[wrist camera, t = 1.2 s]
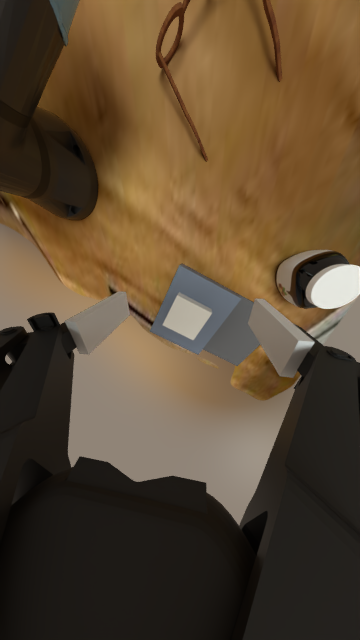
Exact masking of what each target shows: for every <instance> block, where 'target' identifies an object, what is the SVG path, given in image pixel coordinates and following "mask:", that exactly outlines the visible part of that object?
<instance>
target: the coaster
mask: <svg viewBox="0 0 360 640" xmlns="http://www.w3.org/2000/svg"><path fill="white" fill-rule="evenodd" d="M211 314H212V309H210V308H208V307H207V306H205V305H203V304H201V303H199V302H197V301H195V300H193V299H191V298H189V297H187V296H186V295H184V294H182V293H180V292H179V293H178V295H177V297H176V299H175V301H174V303H173V305H172V307H171V309H170V311H169V313H168V315H167V317H166V319H165V321H164V323H163V326H165V327H167V328H169V329H171V330H173V331H175V332H177V333H179V334H181V335H183V336H185V337H187V338H189V339H191V340H194V339H195V337H196V336H197V334H198V333H199V332H200V330H201V329H202V327H203V326H204V324H205V323H206V321H207V320H208V319H209V317H210V316H211Z"/></svg>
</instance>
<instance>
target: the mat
mask: <svg viewBox="0 0 360 640" xmlns="http://www.w3.org/2000/svg"><path fill="white" fill-rule="evenodd" d="M238 295H239V294H238ZM239 296H240V297H241V300H240V301H239V303H238V304H237V305H236V307H235V308H234V309H233V310H232V312H231V313H230V314H229V316H228V317H227V318H226V319H225V321H224V322H223V323H222V325H221V326H220V327H219V329H218V330H217V331H216V332H215V334H214V335H213V336H212V338H211V339H210V340H209V341H208V343H207V344H206V345H205V347H204V348H203V350H205V351H208V352H210V353H212V354H214V355H216V356H218V357H220V358H222V359H224V360H226V361H228V362H230V363H232V364H234V365H236V366H238V365H239V364H240V363H241V362H242V361H243V360H244V359H245V358H246V357H247V356H248V355H249V354H251V353H252V352H253V351H254V350H255V349H256V348H257V347H258V346H259V345H260V343H259V341H258V339H257V338H256V336H255V334H254V333H253V331H252V329H251V328H250V326H249V324H248V322H249V318H250V315H251V311H252V308H253V304H254V302H252V301H250V300H248V299H246V298H245V297H243V296H241V295H239Z"/></svg>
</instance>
